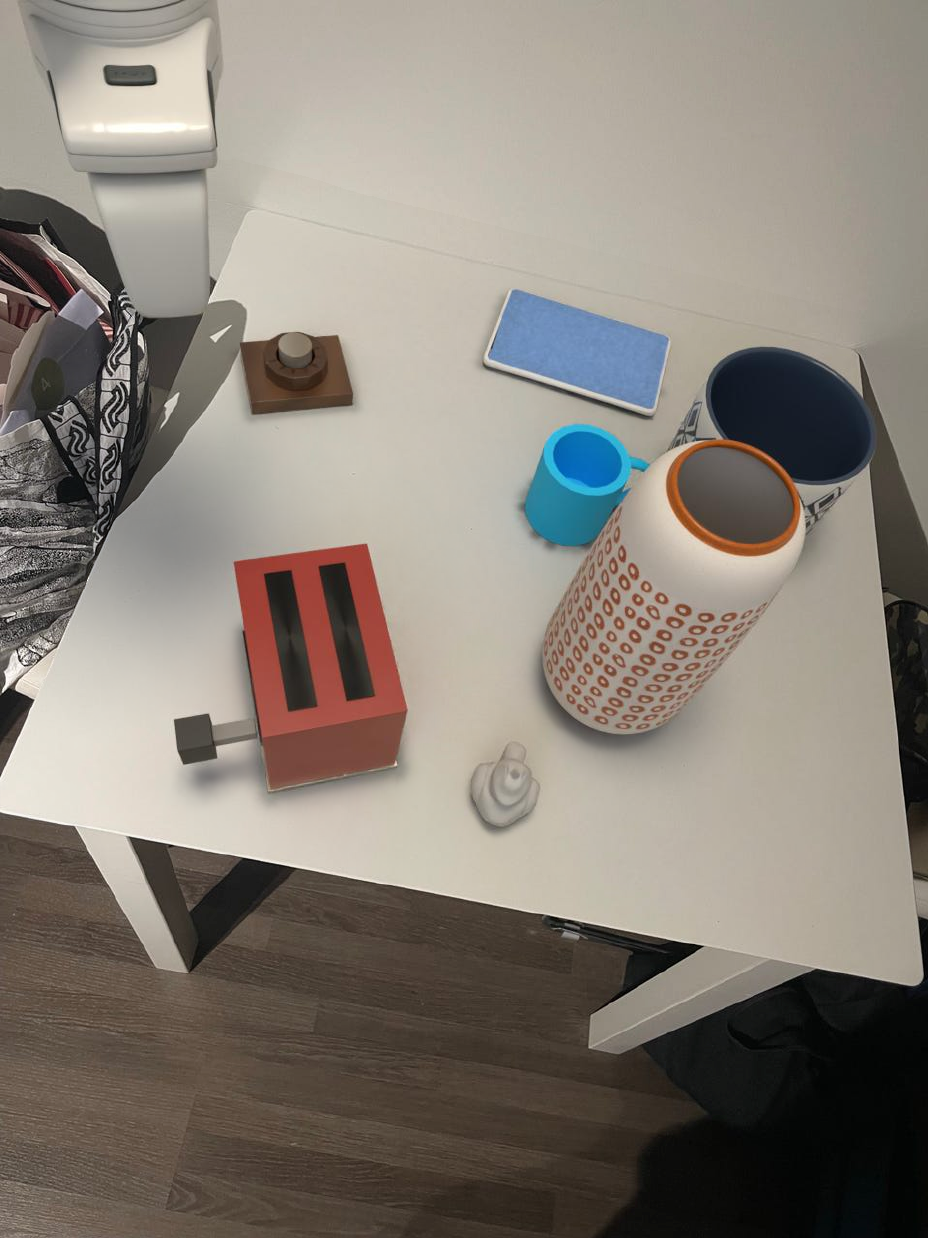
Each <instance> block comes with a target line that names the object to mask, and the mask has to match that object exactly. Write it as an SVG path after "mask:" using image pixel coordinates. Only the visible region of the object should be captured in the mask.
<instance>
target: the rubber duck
mask: <svg viewBox="0 0 928 1238" xmlns="http://www.w3.org/2000/svg"><path fill="white" fill-rule="evenodd" d="M526 756H527V749H526V747H525V745H524V744H522V743H521V742H518V741H510V742H508V743H507V744H506V745H505V747H504V750H503V753H502V755H501V756H500V759H499V761H491V762H484V763H479V764H477V766H476V767H475V768H474V770H473V774H472V778H471V782H470V792H471V796H472V799H473V801H474V802H475V804H476V808H477V810H478V812H479V814H480V816H481V817H482V818H483V820H484V821H485V822H487V823H489V824H490V825H494V826H497V827H507V826H509V825H510V824H512V823H514V822H515V821H517V820H519V819H520V818H522V817H524V816H527V815H528V814H529V813H530V812H531V811H532V810H533V809H534V807H535V806H536V804H537V803H538V799H539V795H540V791H541V783H540V782H539V781H538V779H536V778H535V777H533V773H532V772H533V771H532V769H531V768H530V767H529V766H528V765H527V764H526V763H525V759H526Z"/></svg>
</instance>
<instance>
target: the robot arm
mask: <svg viewBox="0 0 928 1238" xmlns="http://www.w3.org/2000/svg"><path fill="white" fill-rule="evenodd" d="M16 2H17V6H18V9H19V12H20V17H21V20H22V22H23V27H24V30H25V34H26V37H27V41H28V45H29V48H30V51H31V55H32V59H33V62H34V67H35V69H36V71H37V73H38V75H39V76H40V78H41V79H42V81H43V84H44V85H45V86H44V87H45V88H46V91H47V92H48V94H49V96H50V98H51V100H52V101H53V104H54V107H55V108H54V109H55V113H56V118H57V123H58V126H59V131H60V135H61V138H62V141H63V142H62V143H63V145H64V148H65V152H66V155H67V158H68V162H69V165H70V168H72V169H73V170H74V171H75V172H79V173H86V174H87V179H88V182H89V186H90V189H91V192H92V196H93V199H94V202H95V206H96V210H97V212H98V215H99V218H100V221H101V224H102V227H103V230H104V233H105V236H106V238H107V241H108V244H109V247H110V250H111V253H112V256H113V259H114V262H115V264H116V267H117V270H118V273H119V275H120V279H121V281H122V284H123V286H124V287H123V288H124V289H125V292H126V294H127V298H128V300H129V301H130V303H131V306H132V307H133V308H134V309H135V311H136V312H137V313H138V314H139V315H140V316H142V317H143V318H147V319H164V318H169V319H170V318H180V317H192V316H198V315H201V314H203V313H205V311H206V310H207V308H208V306H209V301H210V292H211V291H210V290H211V268H210V266H211V265H210V263H211V261H210V257H211V256H210V223H209V222H210V221H209V219H210V218H209V191H208V172H207V170H208V169H214V168H215V167H216V166H217V165H218V163H219V162H218V161H219V159H218V151H217V150H218V149H217V148H218V139H217V130H216V104H217V99H218V94H219V88H220V81H221V79H222V75H223V73H224V55H223V44H222V35H221V34H222V33H221V23H220V22H221V21H220V13H219V5H218V4H219V3H218V0H16Z"/></svg>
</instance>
